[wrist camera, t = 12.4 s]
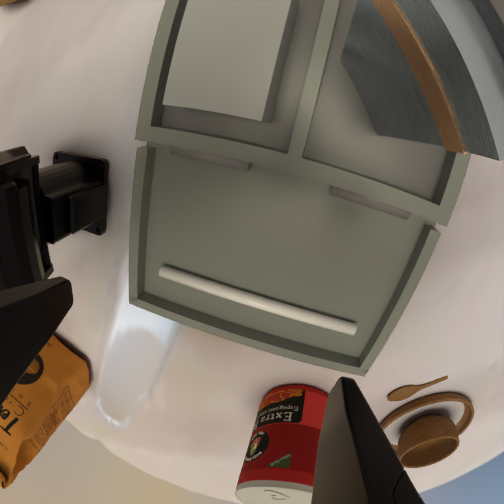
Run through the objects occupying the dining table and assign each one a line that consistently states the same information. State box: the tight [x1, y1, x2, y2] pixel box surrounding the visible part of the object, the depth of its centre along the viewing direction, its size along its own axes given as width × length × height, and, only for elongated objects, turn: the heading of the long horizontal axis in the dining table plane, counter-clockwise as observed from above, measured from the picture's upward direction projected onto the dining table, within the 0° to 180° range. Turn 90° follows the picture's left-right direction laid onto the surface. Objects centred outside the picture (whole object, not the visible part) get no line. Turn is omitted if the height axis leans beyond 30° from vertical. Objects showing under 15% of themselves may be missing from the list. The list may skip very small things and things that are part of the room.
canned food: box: [235, 385, 328, 504], centre depth 22 cm, size 8×8×11 cm
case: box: [129, 0, 471, 376], centre depth 17 cm, size 20×26×4 cm
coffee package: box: [0, 335, 89, 489], centre depth 24 cm, size 10×12×22 cm
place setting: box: [380, 376, 474, 468], centre depth 25 cm, size 18×20×6 cm
